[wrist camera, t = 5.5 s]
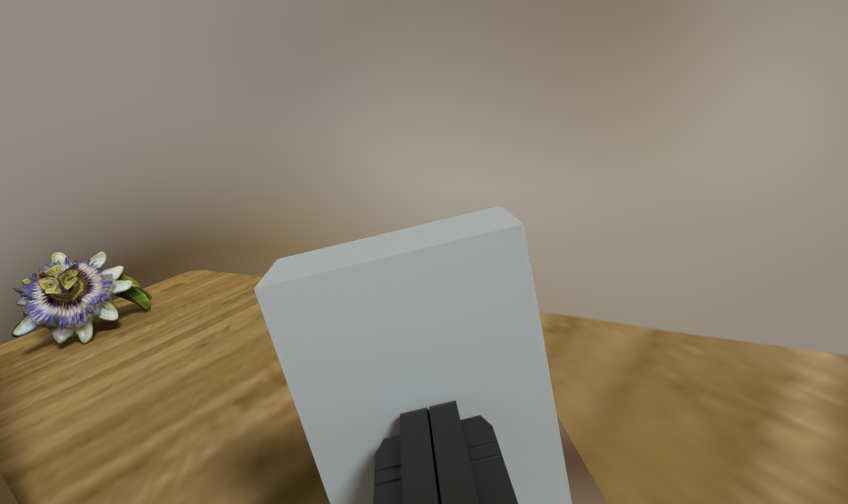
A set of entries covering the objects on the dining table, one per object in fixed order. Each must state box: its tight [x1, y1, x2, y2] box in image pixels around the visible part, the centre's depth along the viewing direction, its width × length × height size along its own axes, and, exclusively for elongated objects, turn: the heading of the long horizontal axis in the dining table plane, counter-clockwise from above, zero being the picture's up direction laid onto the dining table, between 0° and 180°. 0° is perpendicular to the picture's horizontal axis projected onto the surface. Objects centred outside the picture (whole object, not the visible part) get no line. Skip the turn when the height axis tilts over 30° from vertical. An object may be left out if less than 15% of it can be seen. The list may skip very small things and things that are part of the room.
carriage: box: [254, 206, 572, 504], centre depth 16 cm, size 8×8×11 cm
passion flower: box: [12, 252, 152, 345], centre depth 55 cm, size 11×11×12 cm
